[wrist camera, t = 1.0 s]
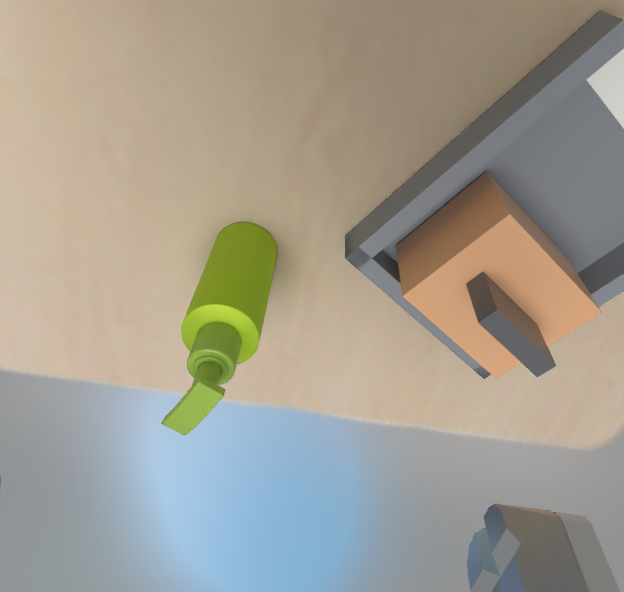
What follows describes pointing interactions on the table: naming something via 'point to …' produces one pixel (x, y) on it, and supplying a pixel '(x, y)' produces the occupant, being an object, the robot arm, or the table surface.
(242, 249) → the soap dispenser
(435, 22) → the table surface
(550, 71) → the bay
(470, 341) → the tan block with handle
